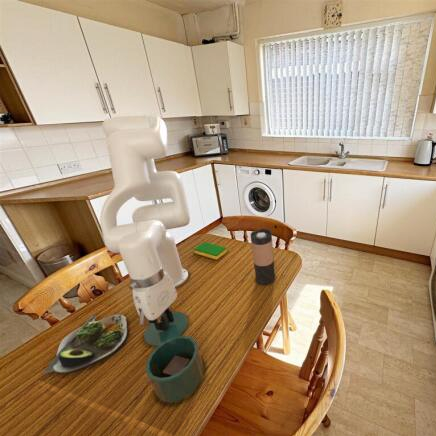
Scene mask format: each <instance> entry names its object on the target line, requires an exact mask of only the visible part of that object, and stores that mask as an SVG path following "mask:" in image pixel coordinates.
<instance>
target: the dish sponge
mask: <svg viewBox="0 0 436 436" xmlns="http://www.w3.org/2000/svg"><path fill="white" fill-rule="evenodd" d="M193 252H194V254H196V255H200V256H203V257H206V258H210V259H212V260H215V261H217V260H219V259H220V258H221V257H223V256H224V255H225V254H227V253H228V248H227V247H226V246H223V245H217V244H214V243H210V242H206V241H204V242H202V243H200V244H199V245H197V246H196V247H194V248H193Z"/></svg>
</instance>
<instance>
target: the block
mask: <svg viewBox="0 0 436 436" xmlns="http://www.w3.org/2000/svg"><path fill="white" fill-rule="evenodd" d="M190 361H191V359H186V358H183V357H179V356H176V355H175V356H174V358H173V359H172V360H171V361H170V363H169V364H168V365H167V367H166V368H165V369H164V370H163V372H162V373H163V375H162V376H163V378H164V377H170V376H172V375H174V374H177V373H179V372H180V371H181V370H182V369H184V368H185V367H186V366H187V365H188V364H189V362H190Z"/></svg>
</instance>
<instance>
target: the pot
mask: <svg viewBox="0 0 436 436" xmlns="http://www.w3.org/2000/svg"><path fill="white" fill-rule="evenodd" d="M175 355H176V356H179V357H183V358H186V359H189V360H190V362H189V364H188V365H187V366H186V367H185V368H184V369H182V370H181V371H180V372H179V373H177V374H174V375H172V376H170V377H164V375H163V373H162V372H163V370H164V369H165V368H166V367H167V365H168V364H169V363H170V361H171V360H172V359H173V358H174V356H175ZM204 372H205V367H204V362H203V360H202V356H201V353H200V350H199V346H198V343H197V341H196V340H195V339H194V338H193V337H192V336H188V335H181V336H176V337H173V338H171V339H168V340H166V341H165V342H163V343H162V344H160V345H159V346H156V347H155V348H154V349H153V350H152V352H151V353H150V354H149V356H148V358H147V360H146V362H145V373H146V376H147V378H148V380H149V382H150V384H151V387H152V389H153V391H154V393H155V395H156V396H157V398H158V399H159V400H160V401H162V402H165V403H167V404H168V403H176V402H177V403H178V402H180V401H181V400H183V399H185V398H187V397H189V396H190V395H191V394H192V393H193V392H194V391H195V390H196V389H198V386H199V385H200V383H201V381H202V379H203V376H204ZM162 376H163V377H162Z"/></svg>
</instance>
